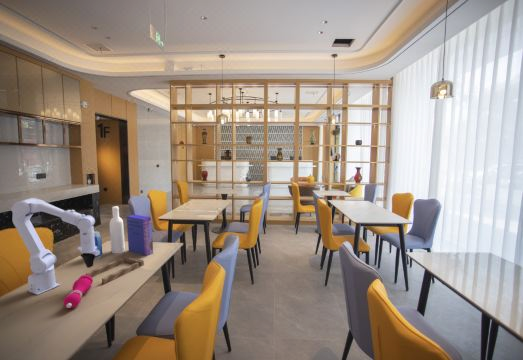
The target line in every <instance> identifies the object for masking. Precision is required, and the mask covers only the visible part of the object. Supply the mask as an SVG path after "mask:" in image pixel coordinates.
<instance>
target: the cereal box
mask: <svg viewBox="0 0 523 360" xmlns="http://www.w3.org/2000/svg"><path fill="white" fill-rule="evenodd" d="M152 222H153V221H152V217H150V216H146V215H145V216H144V215H138V214H129V215H126V227H127V228H126V229H127V244H128V245H127V246H128V252H131V253H135V254H138V255H142V256H147V257H148V256H150V255H153V254H154V246H153V245H154V242H153V227H152V226H153V225H152V224H153V223H152Z"/></svg>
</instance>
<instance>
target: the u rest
mask: <svg viewBox="0 0 523 360" xmlns="http://www.w3.org/2000/svg"><path fill="white" fill-rule="evenodd" d="M144 261H145V260H144V259H138V258H135V257H130V256H127V255H126V256H123V257H122V258H119V259H116V260H113V261H112V262H109V263H107V264H105V265H102V266H100V267H98V268H95V269H93V270H90V271H87V272H85V275H89V276H91V277H92V278H93V277H95V276H97V275H100V274H102V273H104V272H106V271H109V270H111V269H113V268H115V267H116V268H117V267H118V266H120V265H122V264H124V263H126V264H130V265H128V266H125V267H123V268H122V269H121V268H120V269H119V270H117V271H115V272H112V273H110V274H109V275H107V276H106V275H105V276H104V277H102V278H101V283H102V284H104V285H105V284H107V283H109V282H112V281H113V280H115V279H116V280H117V279H118V278H119V277H122V276H124V275H125V274H128V273H131V271H135V270H136V269H139V268H140V267H142V266H144V265H145V262H144Z"/></svg>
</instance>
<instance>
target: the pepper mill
mask: <svg viewBox="0 0 523 360" xmlns="http://www.w3.org/2000/svg"><path fill="white" fill-rule="evenodd" d="M93 283H94V279H93V277H91V276H89V275H86V274H84V275H81V276H79V278H78V279H76V280H75V281H74V283H72V287H71V288H72V291H71V292H69V294H68V295H66V296H65V297H64V298H63V306H64V307H65V308H67V309H73V308H76V307H77V306H79V304H81V301H82V298H83V295H84V294H87V292H89V291H90V290H91V288H92V284H93Z"/></svg>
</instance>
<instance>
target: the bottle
mask: <svg viewBox="0 0 523 360" xmlns="http://www.w3.org/2000/svg"><path fill="white" fill-rule="evenodd" d="M111 211H112V218H111V219H110V221H109V237H110V250H111V253H112V254H121V253H123V252H125V251H126V245H125V244H126V242H125V230H124V229H125V228H124V220H123V218H122V217H120V208H119V206H118V205H116V206H112V207H111Z"/></svg>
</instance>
